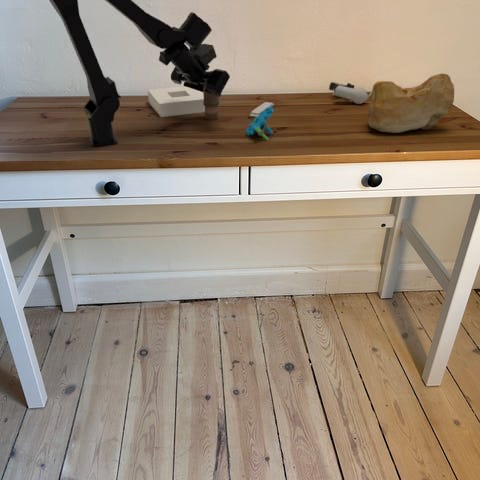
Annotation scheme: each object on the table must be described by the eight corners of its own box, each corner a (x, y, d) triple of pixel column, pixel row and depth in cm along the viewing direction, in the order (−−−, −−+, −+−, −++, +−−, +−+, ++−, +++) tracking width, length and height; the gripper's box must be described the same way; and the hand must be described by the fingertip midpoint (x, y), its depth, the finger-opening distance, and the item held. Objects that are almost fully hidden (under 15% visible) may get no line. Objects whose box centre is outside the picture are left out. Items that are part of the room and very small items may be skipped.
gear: (247, 121, 133) (272, 98, 127) (261, 135, 135) (287, 114, 129) (240, 139, 124) (266, 117, 119) (255, 154, 127) (282, 133, 121)
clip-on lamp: (375, 104, 163) (326, 92, 160) (382, 86, 160) (332, 73, 157) (386, 111, 152) (334, 99, 150) (394, 92, 149) (340, 79, 147)
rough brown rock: (426, 117, 144) (434, 66, 137) (454, 132, 129) (464, 75, 122) (353, 122, 142) (357, 71, 135) (373, 137, 127) (379, 80, 120)
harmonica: (266, 106, 151) (266, 100, 150) (275, 107, 150) (275, 101, 149) (247, 119, 140) (247, 113, 139) (257, 121, 139) (257, 114, 138)
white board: (211, 111, 145) (210, 98, 143) (160, 117, 140) (159, 103, 138) (195, 97, 158) (195, 85, 155) (148, 102, 152) (147, 90, 150)
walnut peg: (221, 119, 139) (220, 74, 132) (206, 121, 137) (205, 75, 130) (216, 114, 142) (215, 70, 135) (201, 116, 141) (200, 71, 134)
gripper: (224, 39, 119) (251, 75, 133) (175, 31, 130) (204, 65, 143) (204, 76, 119) (233, 109, 132) (156, 65, 129) (187, 96, 142)
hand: (214, 94), depth 137 cm, fingers closed on walnut peg, 4 cm apart
